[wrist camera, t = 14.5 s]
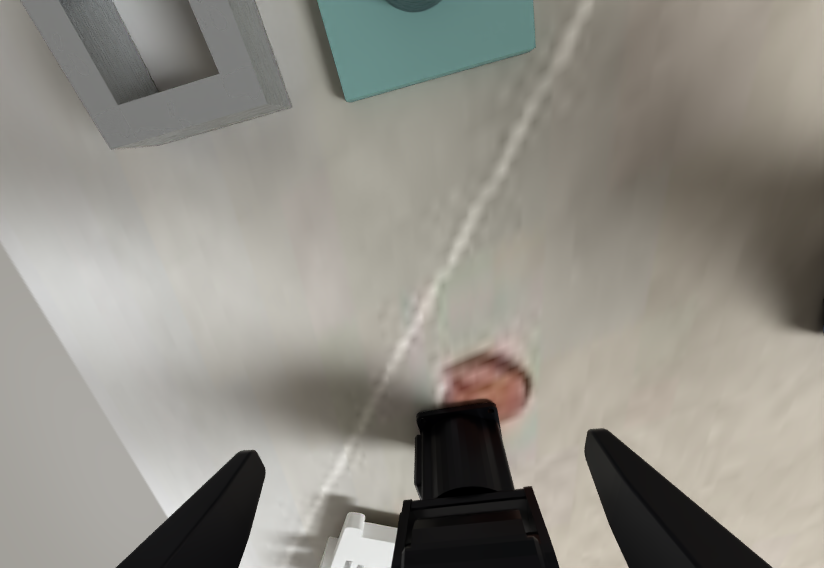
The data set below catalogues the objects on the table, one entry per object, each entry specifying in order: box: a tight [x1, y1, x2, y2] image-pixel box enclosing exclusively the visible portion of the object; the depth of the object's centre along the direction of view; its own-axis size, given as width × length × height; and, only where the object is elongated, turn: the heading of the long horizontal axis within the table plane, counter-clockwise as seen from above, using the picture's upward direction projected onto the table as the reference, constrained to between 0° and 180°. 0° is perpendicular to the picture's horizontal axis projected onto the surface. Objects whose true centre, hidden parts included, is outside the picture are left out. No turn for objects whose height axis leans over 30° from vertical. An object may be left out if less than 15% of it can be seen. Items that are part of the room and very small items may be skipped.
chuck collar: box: [20, 0, 292, 150], centre depth 14 cm, size 8×8×3 cm
